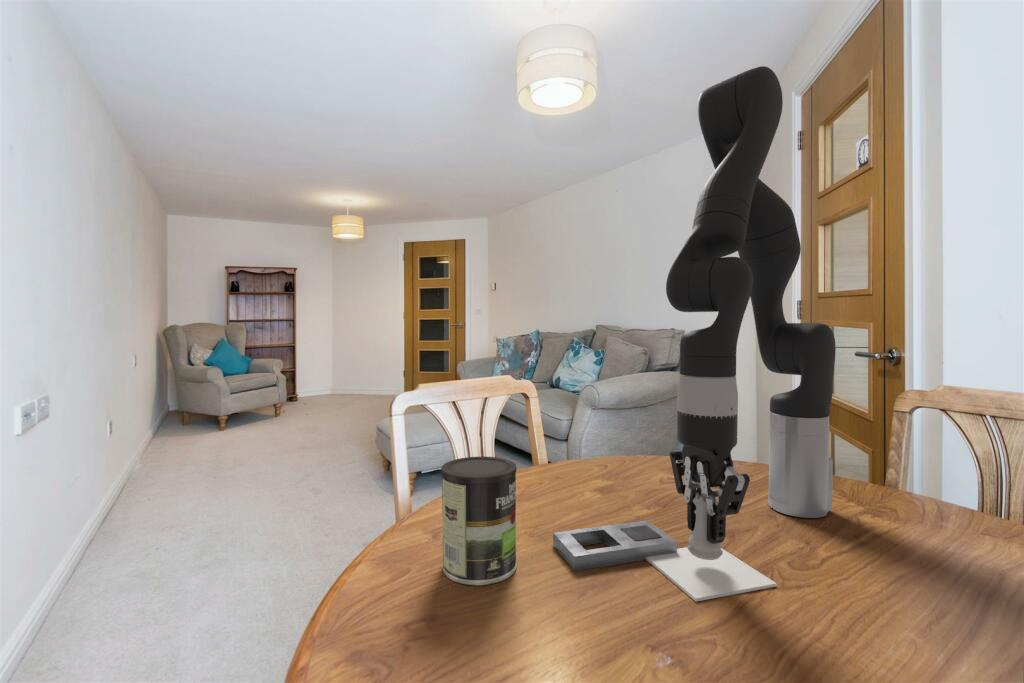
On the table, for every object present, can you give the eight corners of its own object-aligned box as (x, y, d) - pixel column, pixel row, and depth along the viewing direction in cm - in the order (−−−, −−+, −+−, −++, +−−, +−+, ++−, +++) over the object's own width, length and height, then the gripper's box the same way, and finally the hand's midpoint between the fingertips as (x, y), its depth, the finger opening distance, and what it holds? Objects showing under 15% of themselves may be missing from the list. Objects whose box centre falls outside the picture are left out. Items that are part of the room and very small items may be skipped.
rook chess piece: (726, 562, 65) (726, 501, 64) (689, 559, 66) (690, 499, 65) (719, 547, 69) (719, 490, 69) (685, 544, 70) (685, 488, 70)
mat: (713, 545, 75) (713, 543, 75) (776, 586, 63) (776, 583, 63) (642, 556, 71) (642, 553, 71) (695, 601, 60) (695, 598, 60)
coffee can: (526, 555, 72) (526, 459, 71) (500, 592, 62) (500, 481, 62) (462, 545, 76) (461, 453, 75) (428, 578, 66) (426, 472, 65)
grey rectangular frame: (647, 532, 80) (647, 519, 80) (676, 555, 72) (677, 540, 72) (553, 545, 75) (553, 531, 75) (574, 571, 67) (574, 555, 67)
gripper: (770, 416, 61) (768, 555, 62) (697, 399, 74) (696, 513, 75) (718, 420, 59) (717, 563, 59) (653, 402, 72) (652, 519, 73)
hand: (705, 534), depth 67 cm, fingers closed on rook chess piece, 3 cm apart
